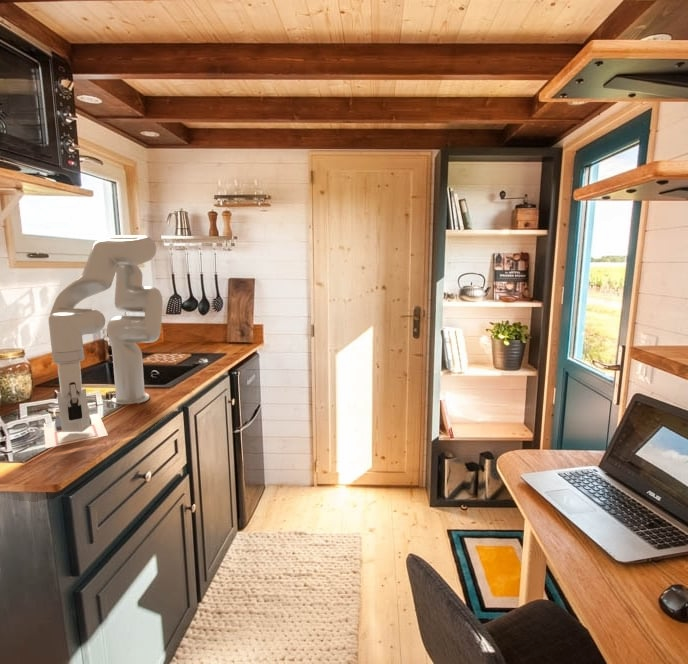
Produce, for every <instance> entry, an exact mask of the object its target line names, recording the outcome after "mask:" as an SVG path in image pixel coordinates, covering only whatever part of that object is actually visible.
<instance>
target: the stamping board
mask: <svg viewBox="0 0 688 664" xmlns="http://www.w3.org/2000/svg"><path fill="white" fill-rule="evenodd" d="M89 416H90V419H91V424H90V427H88V428H87V429H86V430H84V431H83V432H62V430H58V431H57V430H56V423H55V420H54V421H51V422H52V427H51V428H47V427H46V424H45V423H46V422H43V431H44V432H43V434H44V444H45V445H44V446H45V447H44V448H45V449H50V448H54V447H59V446H63V445H68V444H73V443H78V442H83V441H88V440H94V439H97V438H102V437H108V436H109V434H108V431H107V429H106V427H105V425H104V423H103V420H102V418H101V414H100V413H93V414H89Z"/></svg>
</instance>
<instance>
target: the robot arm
mask: <svg viewBox="0 0 688 664" xmlns="http://www.w3.org/2000/svg"><path fill="white" fill-rule="evenodd" d="M156 254H157V244H156V242H155V241H154V239H153V238H152V237H150V236H148V235H127V234H126V235H123V234H122V235H121V234H120V235H118V234H117V235H110V236H108V237H106V238H105V239H99V240H97V241H95V242H94V243H93V245H92V247H91V249H90V252H89V255H88V258H87V260H86V263H85V265H84V268H83V271H82V274H81V276H80V277H79V278H76V280H74V281H72V282H71V283H70V284H69V285H68V286H66V287H65V288H64V289H62V291H61V292H59V294H58V295H57V297H56V298H55V300H54V302H53V305H52V308H51V311H50V314H49V316H48V328H49V338H50V345H51V356H52V362H53V364H57V373H58V374H57V375H58V384H59V385H58V386H59V392H60V393H61V397H62V398H64V397H67V396H68V397H67V398H68V404H69V407H68V415H69V420H76V419H81V418H82V409H81V405H80V398H79V396H80V395H81V394H82V389H83V388H82V387H83V385H82V384H83V383H82V371H81V370H82V369H81V362H83V361H84V360H85V351H84V341H83V336H86V335H95V334H97V333H99V332H101V331H102V330H103V329H104V327H105V325H106V317H105V315H104V314H103V313H102V312H101V311H99V310H97V309H94V308H76V306H77V305H78V304H80V302H81V301H83V300H86V299H88V298H90V297H92V296H96V295H97V294H100V293H103V292H106V291H107V290H109V289H110V288H111V287H112V285H113V281H114V277H115V289H114V307H115V308H116V309H117V310H118V311H120V312H122V313H143V314H144V315H142V316H141V315H117V316H114V317H112V318H110V319H109V320H108V322H107V326H106V332H107V336H108V339H109V342H110V346H111V351H112V352H111V353H112V365H113V376H114V378H113V379H114V387H115V389H114V390H115V391H114V392H115V396H116V398H114V397H115V396H113V397H112V398H111V400H110V401H111V403H112V404H117V405H133V404H138V405H140V404H142V403H144V402H147V401H148V400H149V399H150V394H149V393H147V392H145V379H144V377H145V376H144V366H143V353H142V352H143V351H142V350H141V348H140V346H139V345H138V344H137V343H146V344H148V343H155V342H157V341H158V340H159V338H160V336H161V332H162V319H163V302H164V301H163V296H162V293H161V291H160V290H159V289H158V288H156V287H154V286H143V272H142V270H141V268H140V266H139V265H142V264H144V263H148V262H150V261H151V260H153V259H154V258H155V256H156ZM76 393H77V394H76ZM69 394H71V396H69ZM79 394H80V395H79ZM70 398H72V399H71V400H70Z"/></svg>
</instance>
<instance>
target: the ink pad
mask: <svg viewBox="0 0 688 664" xmlns="http://www.w3.org/2000/svg"><path fill="white" fill-rule="evenodd" d="M89 420H90V424H91V419H90V416H89ZM54 421H55V423H56V430H57V431H58V430H62V428H61V420H60V417H56V418H54Z"/></svg>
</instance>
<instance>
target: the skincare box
mask: <svg viewBox="0 0 688 664" xmlns="http://www.w3.org/2000/svg"><path fill="white" fill-rule="evenodd" d="M76 394H77V393H76ZM79 395H80V394H79ZM69 396H71V394H69ZM56 397H57V402H58V412H59V418H60V420H61V428H62V432H83V431H84V430H86V429H87V428H88V427H90V420H89V415H90V413H89V406H88V397H87V389H86V388H82V394H81V395H80V396H79V398H80V405H81V409H82V418H81V419H76V420H69V415H68V407H69V404H68V398H67V397H68V396H67V397H64V398H62V397H61V393H60V391H59V392H57V393H56ZM71 399H72V398H70V400H71Z"/></svg>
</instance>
